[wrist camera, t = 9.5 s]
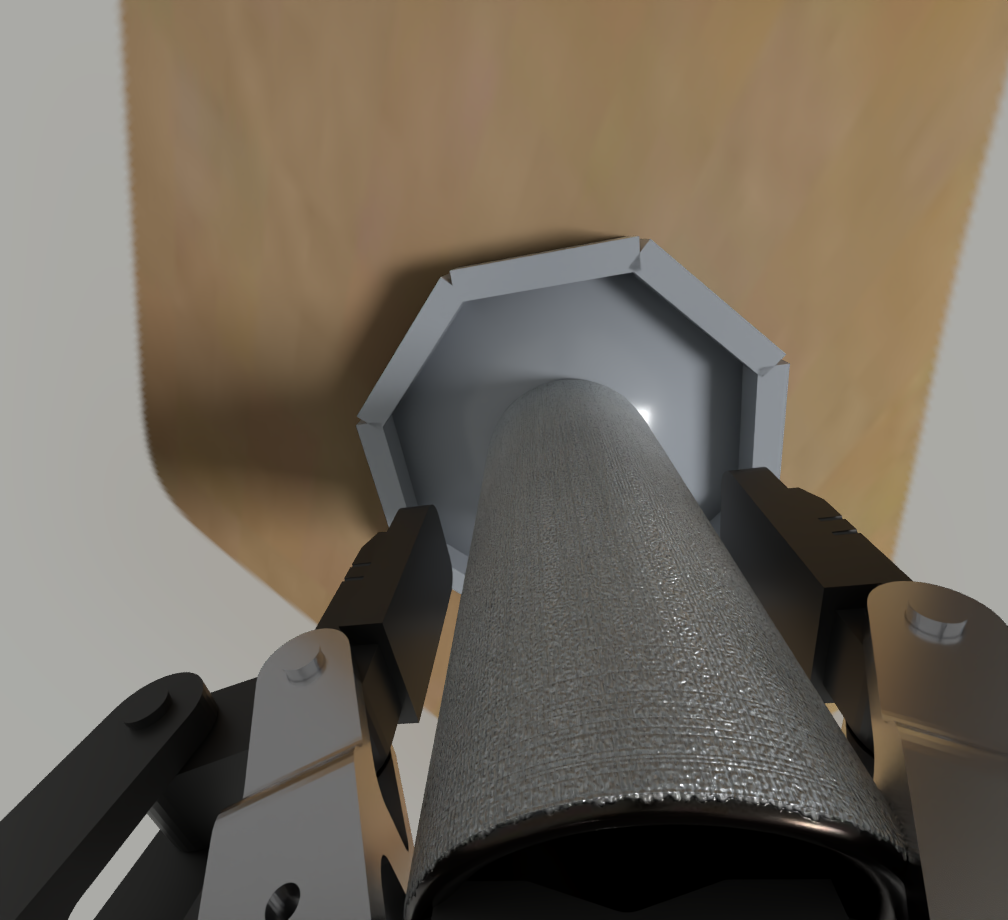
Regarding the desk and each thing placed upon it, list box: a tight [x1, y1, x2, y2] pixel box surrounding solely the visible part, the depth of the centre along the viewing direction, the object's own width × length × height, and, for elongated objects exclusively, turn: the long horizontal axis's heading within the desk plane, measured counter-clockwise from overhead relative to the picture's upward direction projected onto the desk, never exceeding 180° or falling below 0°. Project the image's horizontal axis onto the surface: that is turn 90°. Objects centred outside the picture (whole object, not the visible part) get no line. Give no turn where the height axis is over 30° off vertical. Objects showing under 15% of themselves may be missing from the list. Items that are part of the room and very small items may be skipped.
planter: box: [404, 379, 909, 920], centre depth 9 cm, size 4×4×10 cm
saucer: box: [356, 236, 790, 594], centre depth 13 cm, size 11×11×1 cm
